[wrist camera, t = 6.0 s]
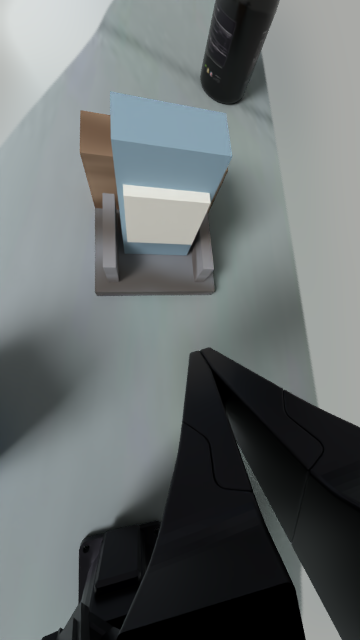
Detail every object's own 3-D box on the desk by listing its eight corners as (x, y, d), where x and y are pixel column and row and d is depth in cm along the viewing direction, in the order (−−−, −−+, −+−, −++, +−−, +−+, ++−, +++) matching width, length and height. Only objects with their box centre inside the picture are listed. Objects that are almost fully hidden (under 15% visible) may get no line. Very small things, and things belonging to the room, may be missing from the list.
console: (210, 294, 23) (249, 259, 15) (97, 295, 20) (72, 254, 13) (200, 194, 25) (228, 118, 17) (97, 184, 23) (76, 91, 15)
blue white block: (187, 262, 22) (233, 168, 11) (124, 260, 20) (111, 153, 10) (184, 230, 22) (225, 113, 12) (123, 226, 21) (110, 91, 11)
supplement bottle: (226, 65, 31) (278, -111, 19) (251, 100, 31) (320, -58, 19) (189, 73, 29) (223, -116, 18) (215, 111, 29) (268, -58, 17)
